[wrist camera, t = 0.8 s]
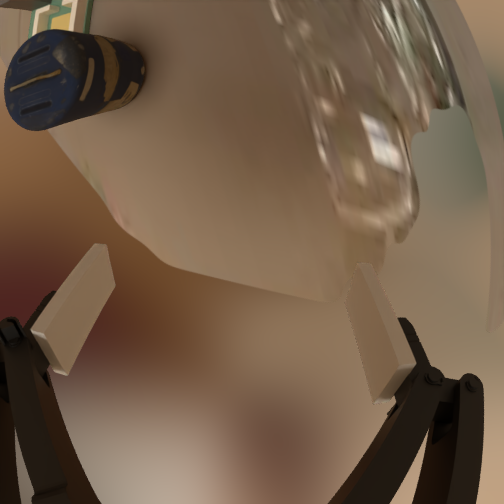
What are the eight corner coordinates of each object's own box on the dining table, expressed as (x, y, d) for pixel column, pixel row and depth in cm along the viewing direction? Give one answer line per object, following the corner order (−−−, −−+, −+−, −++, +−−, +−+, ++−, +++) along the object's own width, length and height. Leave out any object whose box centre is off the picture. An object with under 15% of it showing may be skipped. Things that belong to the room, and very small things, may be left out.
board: (40, -10, 21) (36, -11, 20) (99, -30, 22) (95, -32, 21) (30, 63, 28) (25, 63, 27) (87, 48, 28) (82, 48, 27)
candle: (93, 41, 28) (0, 33, 12) (156, 43, 29) (80, 20, 13) (81, 107, 33) (-12, 134, 17) (140, 113, 34) (59, 141, 18)
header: (46, 11, 23) (36, 10, 21) (87, -2, 23) (78, -5, 21) (40, 57, 27) (29, 58, 25) (81, 47, 27) (71, 46, 25)
